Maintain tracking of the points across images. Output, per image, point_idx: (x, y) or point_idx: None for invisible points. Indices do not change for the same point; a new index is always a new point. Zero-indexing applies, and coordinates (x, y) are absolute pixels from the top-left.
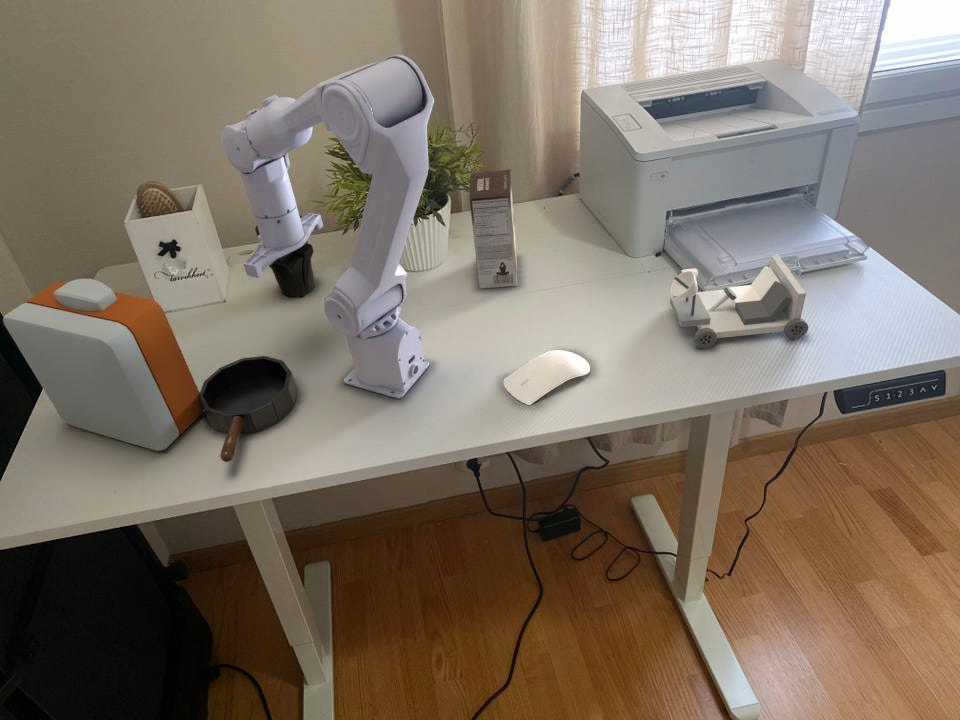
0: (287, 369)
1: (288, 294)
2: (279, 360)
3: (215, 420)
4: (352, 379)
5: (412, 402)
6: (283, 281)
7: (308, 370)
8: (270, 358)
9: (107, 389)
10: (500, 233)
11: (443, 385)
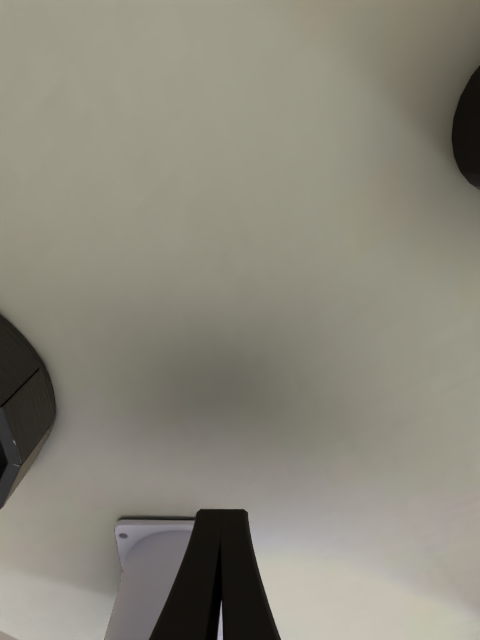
0: (1, 495)
1: (460, 122)
2: (15, 456)
3: None
4: (127, 539)
5: None
6: (161, 615)
7: (115, 432)
8: (3, 430)
9: None
10: None
11: None
